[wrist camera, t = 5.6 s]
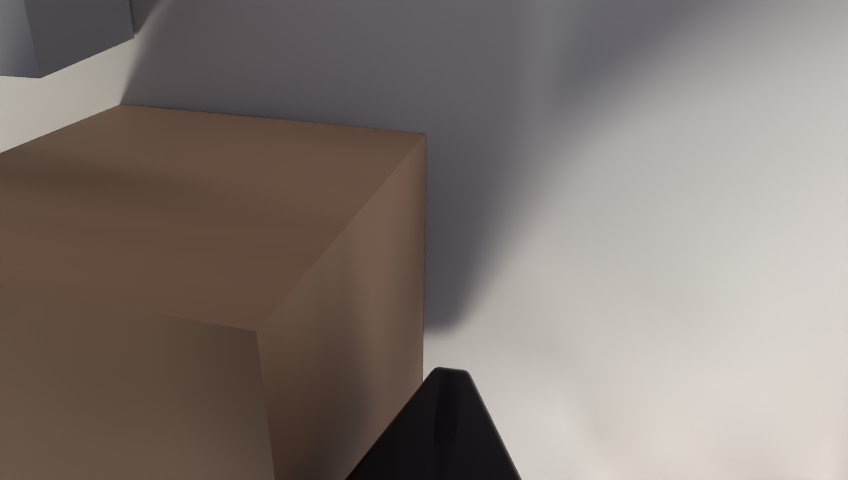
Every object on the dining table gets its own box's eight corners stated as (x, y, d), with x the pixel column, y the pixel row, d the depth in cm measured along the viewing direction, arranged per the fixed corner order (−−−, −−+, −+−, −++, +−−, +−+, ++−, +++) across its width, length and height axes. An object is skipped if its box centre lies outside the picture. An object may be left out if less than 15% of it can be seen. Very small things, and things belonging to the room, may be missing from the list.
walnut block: (422, 407, 12) (303, 701, 7) (171, 358, 13) (-57, 589, 9) (425, 133, 9) (257, 330, 5) (120, 103, 11) (-227, 245, 6)
